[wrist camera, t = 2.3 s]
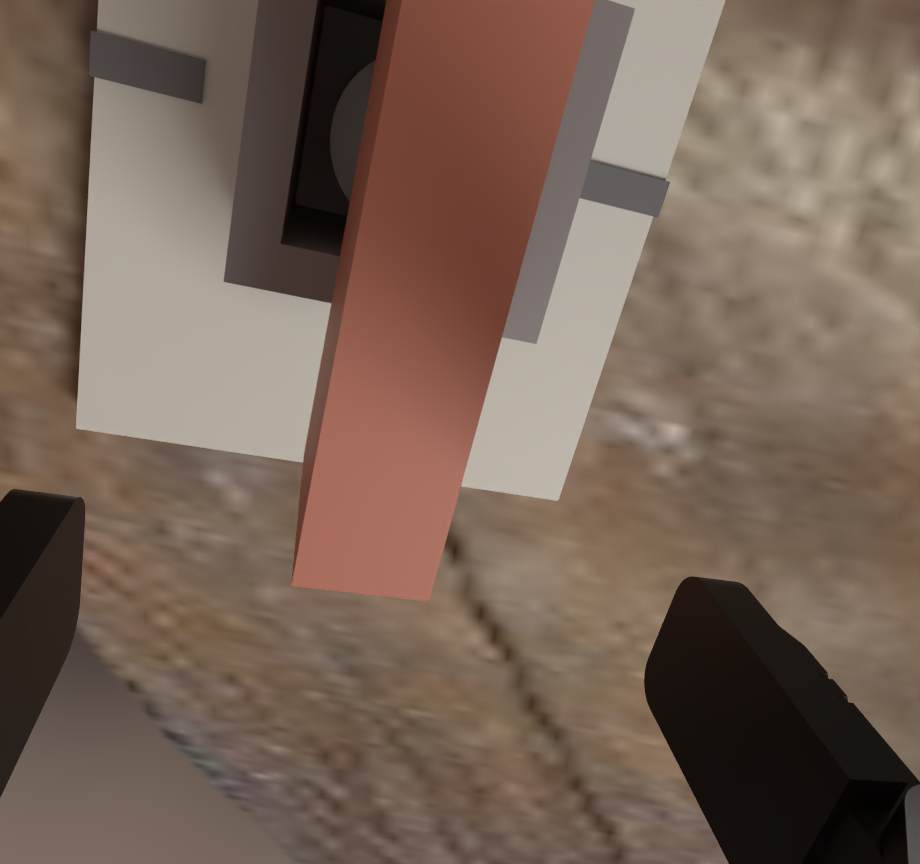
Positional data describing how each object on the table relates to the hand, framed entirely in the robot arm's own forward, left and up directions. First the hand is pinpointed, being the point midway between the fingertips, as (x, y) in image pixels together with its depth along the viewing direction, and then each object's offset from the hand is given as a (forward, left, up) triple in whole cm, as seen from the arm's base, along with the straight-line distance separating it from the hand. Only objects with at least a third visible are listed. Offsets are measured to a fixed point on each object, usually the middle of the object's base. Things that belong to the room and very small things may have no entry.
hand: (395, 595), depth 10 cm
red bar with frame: (-5, 0, -13) cm, 14 cm away
